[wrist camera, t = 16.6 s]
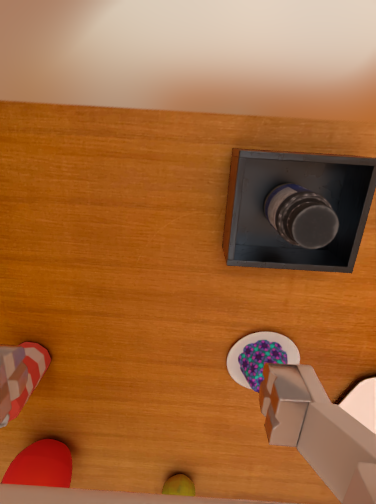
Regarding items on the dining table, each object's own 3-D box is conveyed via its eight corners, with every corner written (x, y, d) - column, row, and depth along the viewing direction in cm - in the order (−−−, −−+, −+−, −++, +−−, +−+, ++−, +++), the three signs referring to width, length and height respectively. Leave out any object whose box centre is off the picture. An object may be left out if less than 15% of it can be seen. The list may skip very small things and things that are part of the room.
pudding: (313, 352, 50) (326, 375, 45) (266, 397, 54) (273, 423, 49) (257, 316, 48) (264, 336, 43) (212, 365, 51) (213, 389, 46)
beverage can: (56, 347, 51) (17, 406, 40) (46, 374, 53) (6, 437, 42) (21, 333, 50) (-29, 390, 39) (12, 361, 52) (-38, 423, 41)
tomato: (29, 462, 61) (-12, 541, 49) (22, 423, 57) (-23, 498, 45) (85, 466, 61) (58, 546, 49) (82, 427, 57) (52, 503, 45)
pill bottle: (317, 204, 40) (359, 228, 30) (282, 235, 42) (310, 267, 32) (288, 172, 39) (321, 184, 29) (252, 205, 41) (272, 228, 30)
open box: (232, 148, 39) (239, 150, 33) (352, 155, 39) (383, 158, 33) (222, 247, 44) (226, 265, 37) (329, 253, 44) (352, 273, 37)
